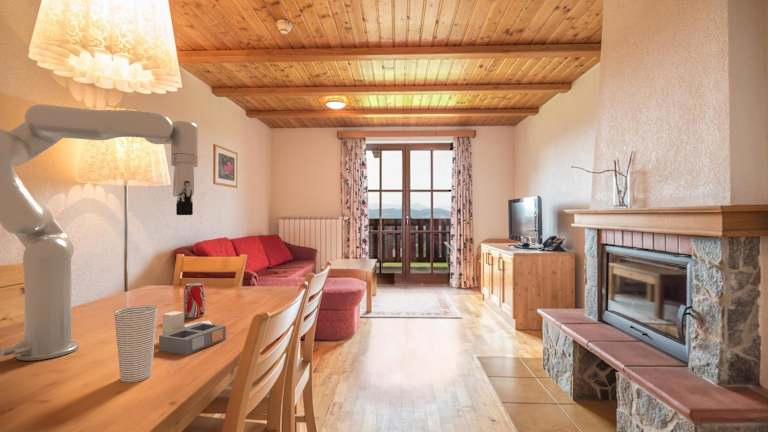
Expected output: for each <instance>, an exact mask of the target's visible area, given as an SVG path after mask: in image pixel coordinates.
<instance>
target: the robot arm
mask: <svg viewBox="0 0 768 432" xmlns="http://www.w3.org/2000/svg"><path fill="white" fill-rule="evenodd" d="M198 134H199V133H198V126H197V124H196V123H194V122H191V121H186V120H177V121H173V122H172V121H171V120H170V119H169V117H167V115H166V116H165V115H163V114H161V113H156V112H149V111H141V110H130V109H129V110H128V109H127V110H126V109H125V110H124V109H122V110H121V109H119V110H116V109H114V110H113V109H112V110H111V109H105V110H104V109H91V108H81V107H73V106H63V105H53V104H34V105H32V106H30V107H28V108H27V110H26V111H25V113H24V122H23V123H21V124H20V125H18V126H16V127H15V128H13V129H11V130H7V129H3V128H2V129H1V128H0V225H1V227H2V228H3V229H4V230H5V231H7V232H8V233H10V234H13V235H15V237H17V238H18V240H19V241H20V242H21V244H22V245H23V247H24V248H25V249H24V251H23V255H22V266H23V267H22V269H23V278H24V279H23V280H24V281H23V282H24V337H23V339H22V338H21V339H19V343H15V345H13V346H8V347H5V348H1V349H0V356H1V357H6V356H10V355H12V354H13V356H15V357H16V360H19V361H27V362H28V361H32V362H33V361H40V360H47V359H53V358H58V357H61V356H64V355H68V354H70V353H72V352H75V351H77V350H78V349H79V343H78V342H77V341H74V340H72V257H73V255H74V250H75V249H74V248H75V247H74V244H73V242H72V241H71V239H70V237H69V236H68V235H67V233H66V232H65V231H64V229H63V228H62V227H61V224H60V223H59V222H58V220H57V219H56V218H55V216H54V215H53V214H52V213H51V211H50V210H49V209H48V207H47V206H45V204H42V203H40V202H38V201H37V200H36V199H35V198H34V196H33V195H32V194H31V193H30V191H29V189H27V187H26V186H25V184H24V182H23V181H22V179H20V177H19V176H18V173H16V171H15V169H14V167H19V166H23V165H25V164H26V163H28V162H29V161H31V160H33V159H34V158H36V157H37V156H39V155H41V154H42V153H44V152H45V151H46V150H49V148H51V147H52V146H54V145H55V144H57V143H58V142H60V141H61V140H62V139H79V140H88V141H89V140H90V141H107V140H112V139H117V138H126V137H127V138H129V137H130V138H142V139H143V138H144V139H145V140H146V142H148V143H150V144H154V145H170V165H171V166H173V167H174V168H173V181H172V185H173V186H172V196H173V197H176V205H175V206H176V207H175V209H176V211H175V214H176V215H177V216H192V215H193V214H194V212H193V210H194V209H193V207H194V205H193V203H194V202H193V196H194V193H195V168H197V167H198V164H199V162H198V159H199V158H198V152H199V151H198V148H199V147H198V146H199V145H198V142H199V141H198V140H199V139H198V137H199V135H198Z"/></svg>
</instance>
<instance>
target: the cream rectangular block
mask: <svg viewBox="0 0 768 432" xmlns="http://www.w3.org/2000/svg"><path fill="white" fill-rule="evenodd" d="M184 324H185V316H184V311H178V310H177V311H176V310H173V311H169V312H166V313H162V335H163V334H166V333H169V332H173V331H176V330H179V329H182V328H184Z"/></svg>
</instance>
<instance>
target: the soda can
mask: <svg viewBox="0 0 768 432" xmlns="http://www.w3.org/2000/svg"><path fill="white" fill-rule="evenodd" d="M183 312H184V317H186V319H197V318H202V316H204V315H205V312H206V288H205V286H204V282H189V283H186V284H185V287H184V289H183Z"/></svg>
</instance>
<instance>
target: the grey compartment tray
mask: <svg viewBox="0 0 768 432" xmlns="http://www.w3.org/2000/svg"><path fill="white" fill-rule="evenodd" d="M226 326H227V325H220V324H215V323H214V324H213V323H212V324H207V323H197V324H194V325H191V326H188V327H185V328H182V329H179V330H176V331H173V332H169V333H166V334H163V333H162V334H160V335H159V336H158V351H161V352H165V353H173V354H179V355H185V356H187V355H191V354H193V353H195V352H198V351H200V350H203V349H205V348H208V347H211V346H213V345H215V344H218V343H221V342H222V341H224V340H226V338H227V335H226V333H227V328H226Z"/></svg>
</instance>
